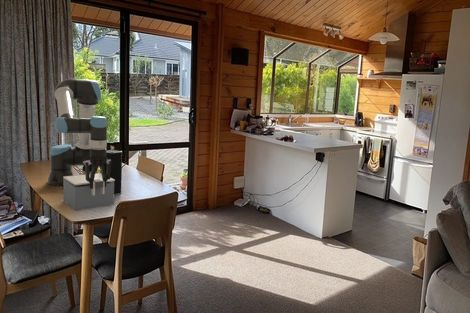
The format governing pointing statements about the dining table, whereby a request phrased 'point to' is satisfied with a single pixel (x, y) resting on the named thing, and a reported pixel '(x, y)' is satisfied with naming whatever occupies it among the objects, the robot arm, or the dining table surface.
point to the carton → (87, 196)
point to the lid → (82, 180)
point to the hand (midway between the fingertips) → (97, 193)
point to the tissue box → (115, 168)
